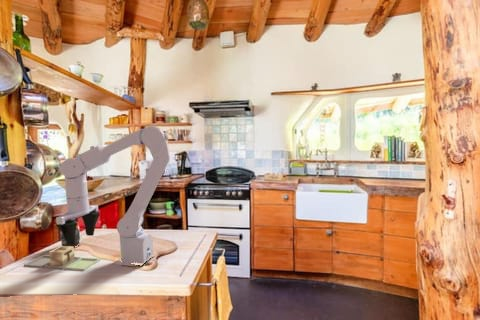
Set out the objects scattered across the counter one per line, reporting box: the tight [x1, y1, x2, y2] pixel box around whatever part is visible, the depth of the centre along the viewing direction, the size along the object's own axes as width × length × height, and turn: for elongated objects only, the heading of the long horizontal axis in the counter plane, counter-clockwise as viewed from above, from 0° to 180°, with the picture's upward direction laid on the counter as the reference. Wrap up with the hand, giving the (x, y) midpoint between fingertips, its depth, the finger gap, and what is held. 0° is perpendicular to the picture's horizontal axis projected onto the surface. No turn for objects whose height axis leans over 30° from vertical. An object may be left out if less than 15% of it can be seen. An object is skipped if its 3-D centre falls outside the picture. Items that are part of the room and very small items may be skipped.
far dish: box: [23, 254, 50, 269], centre depth 88 cm, size 7×7×1 cm
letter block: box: [48, 245, 76, 266], centre depth 87 cm, size 5×5×5 cm
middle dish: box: [43, 256, 82, 270], centre depth 87 cm, size 7×7×1 cm
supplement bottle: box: [59, 219, 82, 247], centre depth 100 cm, size 6×6×11 cm
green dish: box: [64, 257, 102, 272], centre depth 85 cm, size 7×7×1 cm
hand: (81, 239), depth 85 cm, fingers open, 7 cm apart
